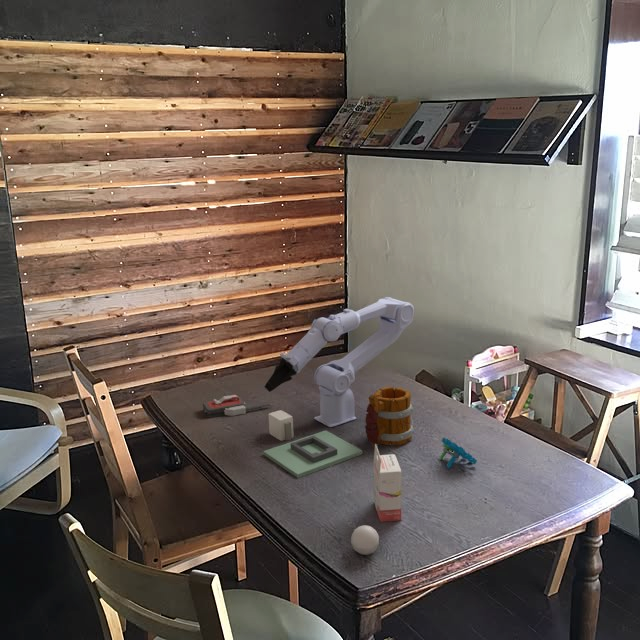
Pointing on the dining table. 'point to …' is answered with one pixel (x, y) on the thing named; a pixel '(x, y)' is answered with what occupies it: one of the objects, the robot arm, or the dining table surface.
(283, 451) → the board
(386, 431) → the mug
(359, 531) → the white egg
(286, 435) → the plug
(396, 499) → the ink cartridge box
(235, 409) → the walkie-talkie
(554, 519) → the dining table surface
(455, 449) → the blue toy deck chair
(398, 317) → the robot arm
